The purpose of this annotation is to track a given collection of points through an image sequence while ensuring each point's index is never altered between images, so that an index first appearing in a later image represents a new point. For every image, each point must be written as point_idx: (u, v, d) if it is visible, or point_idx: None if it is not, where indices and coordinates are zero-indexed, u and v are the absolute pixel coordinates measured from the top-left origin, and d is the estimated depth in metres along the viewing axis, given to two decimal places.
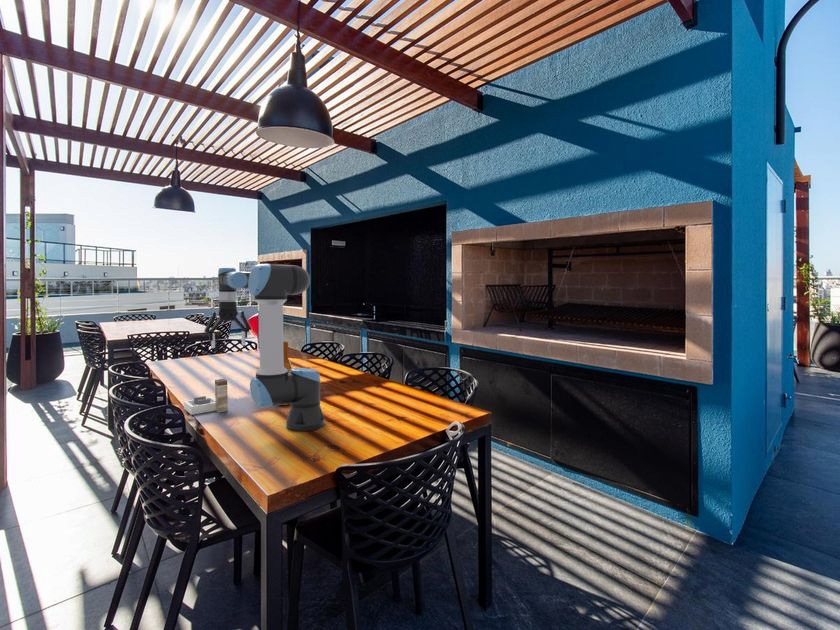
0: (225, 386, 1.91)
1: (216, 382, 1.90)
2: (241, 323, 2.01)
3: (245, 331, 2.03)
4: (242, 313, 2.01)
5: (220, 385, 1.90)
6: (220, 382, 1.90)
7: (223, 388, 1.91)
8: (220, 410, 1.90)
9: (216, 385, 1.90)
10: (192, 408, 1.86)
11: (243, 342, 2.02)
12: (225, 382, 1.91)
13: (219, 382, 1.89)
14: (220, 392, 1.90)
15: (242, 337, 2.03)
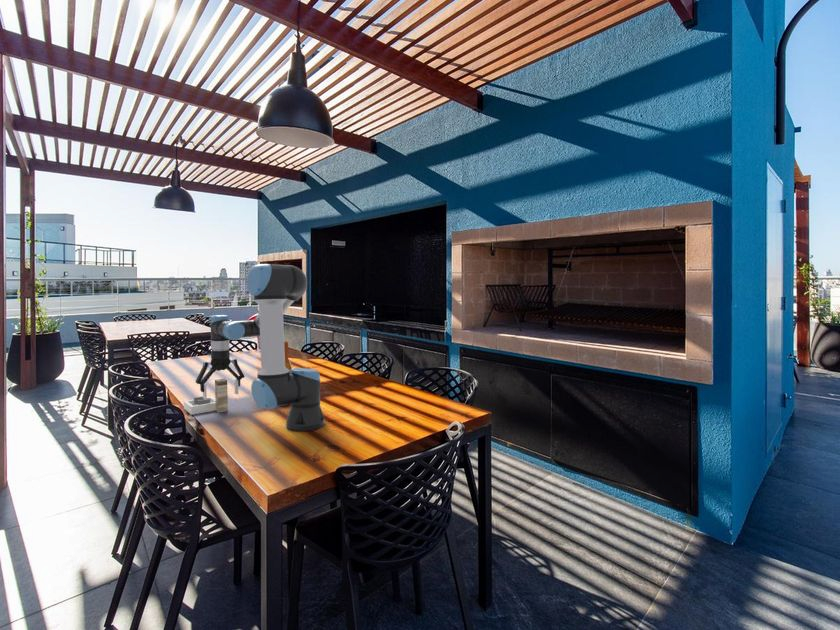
0: (225, 386, 1.91)
1: (216, 382, 1.90)
2: None
3: (238, 379, 1.96)
4: (235, 361, 1.94)
5: (220, 385, 1.90)
6: (220, 382, 1.90)
7: (223, 388, 1.91)
8: (220, 410, 1.90)
9: (216, 385, 1.90)
10: (192, 408, 1.86)
11: (236, 391, 1.96)
12: (225, 382, 1.91)
13: (219, 382, 1.89)
14: (220, 392, 1.90)
15: (235, 385, 1.96)
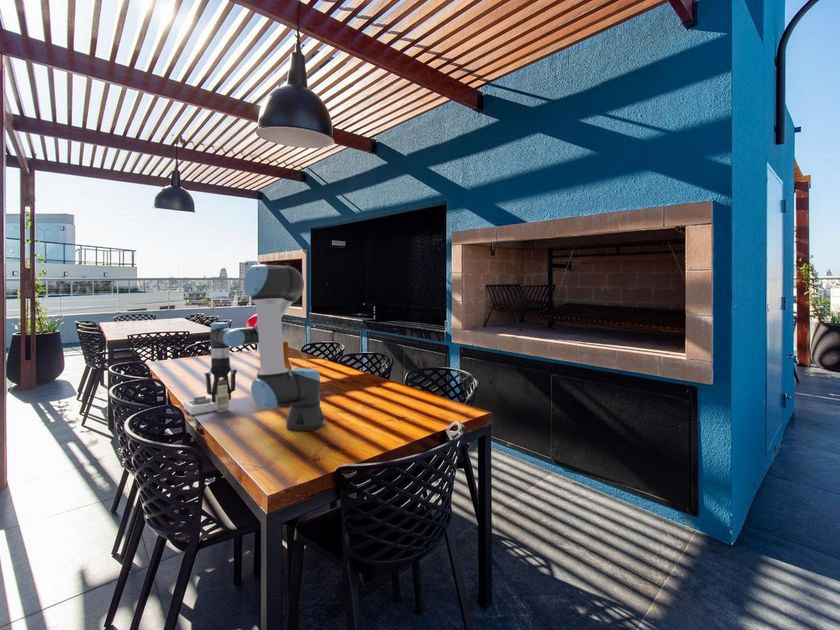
0: (225, 386, 1.91)
1: None
2: None
3: (228, 392, 1.93)
4: (234, 371, 1.94)
5: (220, 385, 1.90)
6: (220, 382, 1.90)
7: (223, 388, 1.91)
8: (219, 410, 1.90)
9: None
10: (192, 408, 1.86)
11: None
12: (225, 382, 1.91)
13: (219, 382, 1.89)
14: (220, 392, 1.90)
15: None
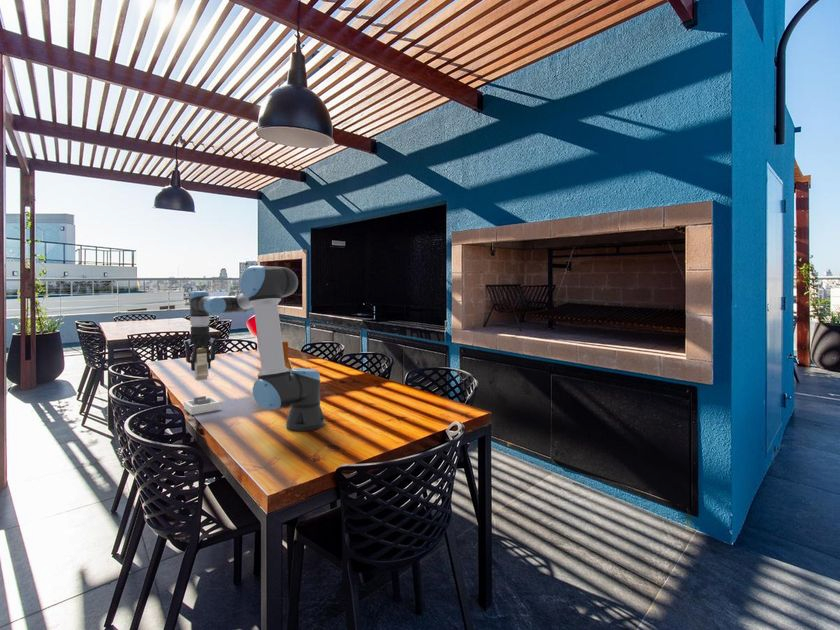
0: (204, 355, 1.92)
1: None
2: (208, 352, 1.94)
3: (208, 361, 1.94)
4: (214, 341, 1.95)
5: (199, 353, 1.91)
6: (199, 350, 1.90)
7: (202, 356, 1.92)
8: (199, 378, 1.91)
9: None
10: (192, 408, 1.86)
11: None
12: (204, 351, 1.92)
13: (198, 350, 1.90)
14: (200, 360, 1.91)
15: None
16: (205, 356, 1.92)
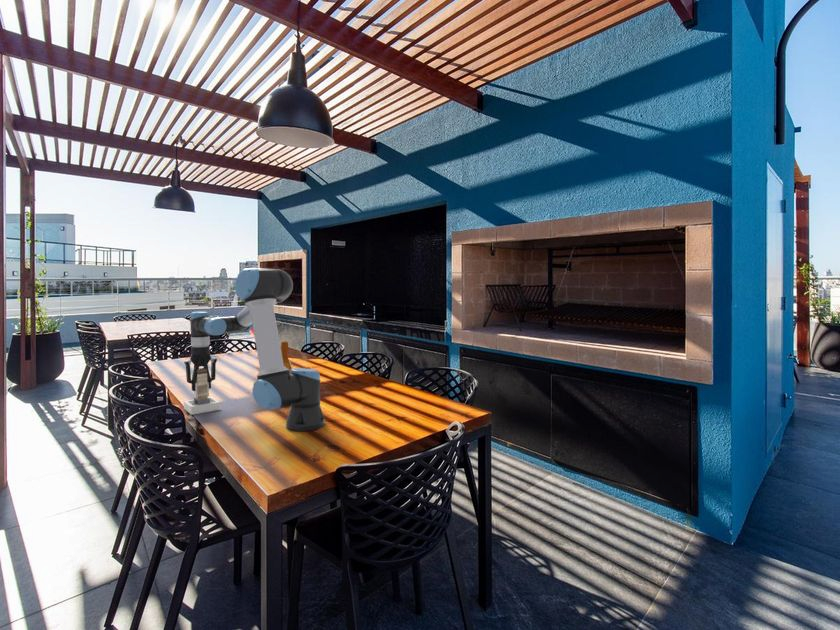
0: (205, 375, 1.93)
1: None
2: None
3: (208, 381, 1.95)
4: (215, 361, 1.96)
5: (200, 373, 1.91)
6: (200, 371, 1.91)
7: (203, 377, 1.92)
8: (199, 399, 1.92)
9: None
10: (192, 408, 1.86)
11: None
12: (205, 371, 1.93)
13: (199, 371, 1.91)
14: (200, 380, 1.92)
15: None
16: (205, 376, 1.93)
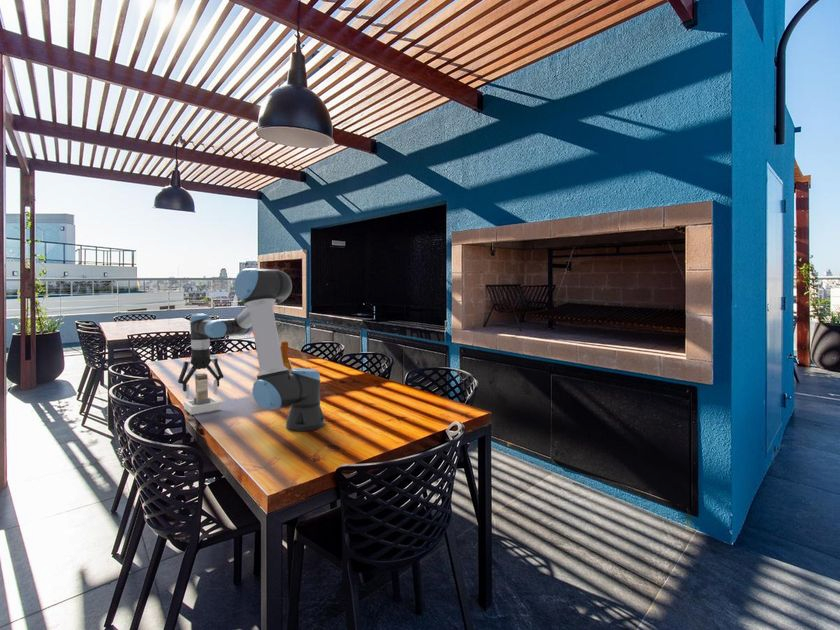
0: (205, 380, 1.93)
1: (196, 376, 1.92)
2: None
3: (217, 379, 1.97)
4: (216, 360, 1.96)
5: (200, 379, 1.91)
6: (200, 376, 1.91)
7: (203, 382, 1.92)
8: None
9: (196, 379, 1.92)
10: (192, 408, 1.86)
11: (215, 391, 1.97)
12: (205, 376, 1.93)
13: (199, 376, 1.91)
14: (201, 386, 1.92)
15: (214, 386, 1.98)
16: (206, 382, 1.93)
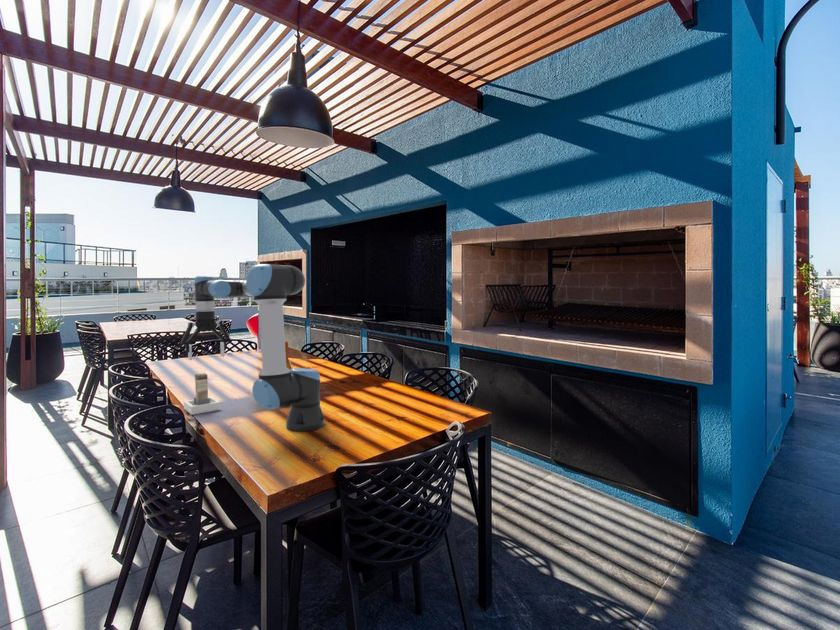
0: (205, 380, 1.93)
1: (196, 376, 1.92)
2: (219, 333, 1.94)
3: (224, 341, 1.95)
4: (220, 323, 1.94)
5: (200, 379, 1.91)
6: (200, 376, 1.91)
7: (203, 382, 1.92)
8: None
9: (196, 379, 1.92)
10: (192, 408, 1.86)
11: (222, 353, 1.95)
12: (205, 376, 1.93)
13: (199, 376, 1.91)
14: (201, 386, 1.92)
15: (221, 348, 1.96)
16: (206, 382, 1.93)
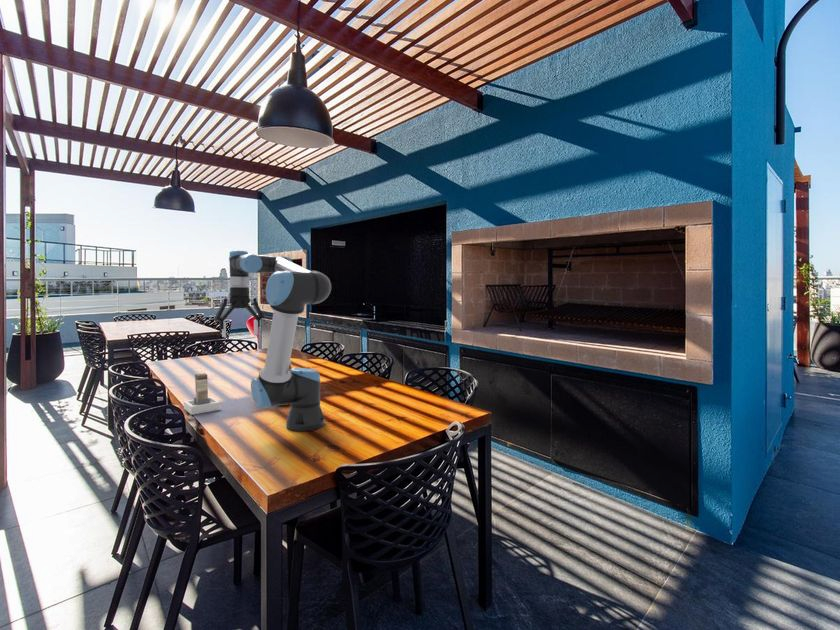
0: (205, 380, 1.93)
1: (196, 376, 1.92)
2: (253, 311, 1.88)
3: (258, 319, 1.89)
4: (255, 300, 1.88)
5: (200, 379, 1.91)
6: (200, 376, 1.91)
7: (203, 382, 1.92)
8: None
9: (196, 379, 1.92)
10: (192, 408, 1.86)
11: (255, 331, 1.89)
12: (205, 376, 1.93)
13: (199, 376, 1.91)
14: (201, 386, 1.92)
15: (254, 326, 1.90)
16: (206, 382, 1.93)
